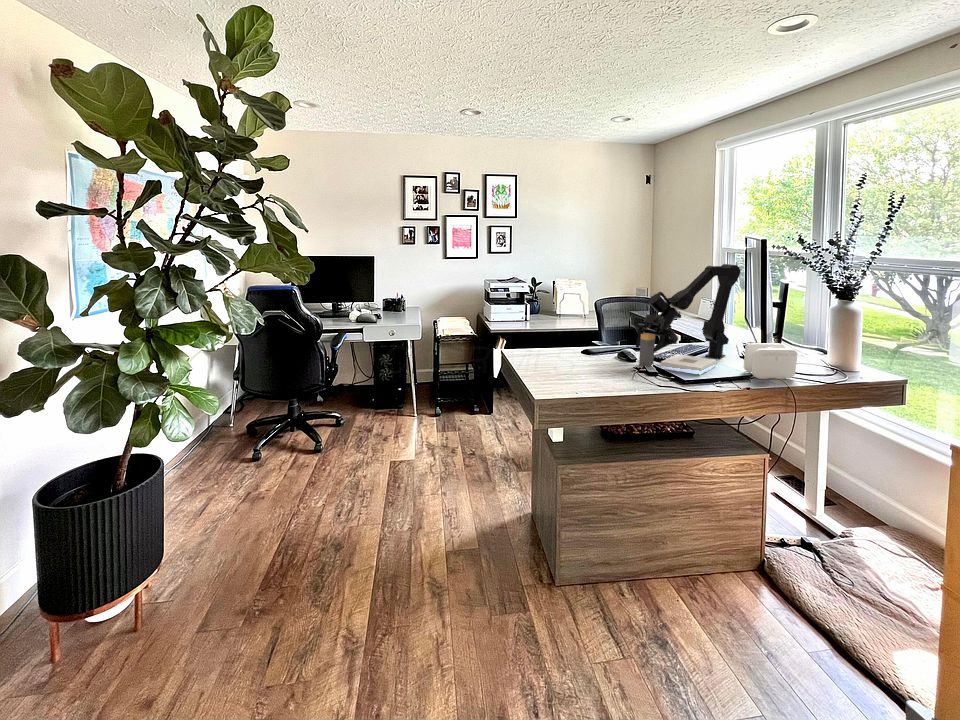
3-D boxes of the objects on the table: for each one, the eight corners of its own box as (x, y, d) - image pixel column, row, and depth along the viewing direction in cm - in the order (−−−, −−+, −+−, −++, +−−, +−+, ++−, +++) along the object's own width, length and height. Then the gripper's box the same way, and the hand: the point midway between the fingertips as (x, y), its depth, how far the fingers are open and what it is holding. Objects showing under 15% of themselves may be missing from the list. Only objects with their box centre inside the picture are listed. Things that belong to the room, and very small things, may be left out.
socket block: (676, 360, 236) (677, 354, 236) (715, 366, 226) (715, 359, 225) (660, 368, 225) (660, 361, 224) (700, 375, 214) (701, 368, 214)
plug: (645, 363, 233) (647, 332, 230) (653, 365, 230) (655, 334, 227) (639, 364, 231) (640, 334, 228) (646, 366, 228) (648, 335, 225)
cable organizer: (782, 372, 217) (786, 343, 214) (795, 380, 207) (799, 349, 204) (742, 372, 218) (745, 343, 215) (752, 379, 208) (756, 349, 205)
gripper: (639, 304, 235) (618, 333, 232) (675, 310, 219) (653, 341, 216) (651, 321, 241) (631, 349, 238) (687, 327, 225) (666, 358, 222)
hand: (644, 349), depth 228 cm, fingers open, 9 cm apart
